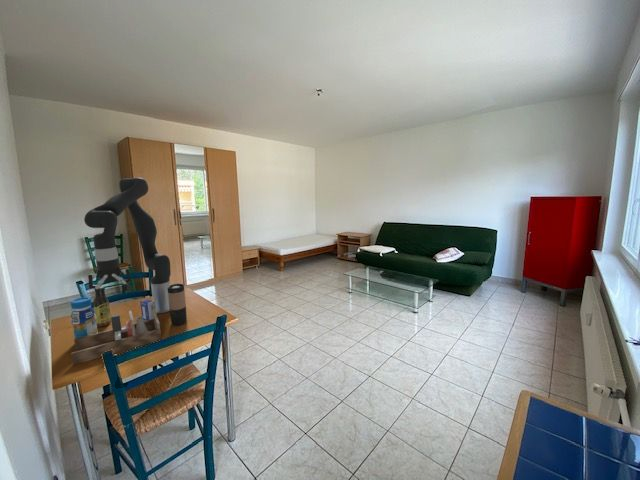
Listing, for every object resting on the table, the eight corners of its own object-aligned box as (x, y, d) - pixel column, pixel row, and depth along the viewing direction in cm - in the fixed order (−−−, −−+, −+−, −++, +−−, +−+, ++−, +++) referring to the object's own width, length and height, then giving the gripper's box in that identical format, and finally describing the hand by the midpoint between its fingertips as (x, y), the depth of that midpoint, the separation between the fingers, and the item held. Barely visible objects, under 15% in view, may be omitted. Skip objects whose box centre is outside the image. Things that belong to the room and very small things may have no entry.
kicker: (132, 333, 129) (129, 306, 126) (135, 345, 118) (131, 317, 116) (114, 338, 124) (110, 310, 122) (115, 351, 114) (111, 322, 111)
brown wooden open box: (157, 327, 135) (154, 305, 133) (161, 339, 124) (158, 315, 122) (76, 349, 116) (71, 323, 114) (73, 365, 106) (68, 337, 103)
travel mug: (189, 322, 141) (186, 286, 137) (174, 327, 135) (170, 290, 132) (184, 317, 146) (180, 282, 142) (168, 322, 140) (165, 286, 137)
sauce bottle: (102, 327, 135) (97, 290, 131) (92, 326, 136) (86, 289, 132) (115, 321, 141) (109, 285, 137) (105, 320, 142) (100, 285, 139)
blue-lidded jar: (73, 341, 123) (66, 300, 119) (97, 333, 129) (91, 294, 125) (76, 348, 117) (69, 305, 114) (101, 340, 123) (94, 299, 120)
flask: (135, 334, 128) (132, 315, 126) (152, 332, 130) (150, 313, 129) (130, 342, 121) (127, 322, 120) (148, 339, 124) (146, 319, 122)
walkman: (142, 321, 141) (139, 300, 139) (147, 319, 143) (145, 298, 141) (152, 324, 138) (149, 302, 136) (157, 322, 140) (155, 300, 138)
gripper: (127, 254, 120) (131, 288, 123) (85, 259, 111) (91, 295, 114) (128, 257, 114) (133, 292, 117) (84, 262, 106) (90, 301, 109)
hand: (112, 294), depth 116 cm, fingers open, 8 cm apart
